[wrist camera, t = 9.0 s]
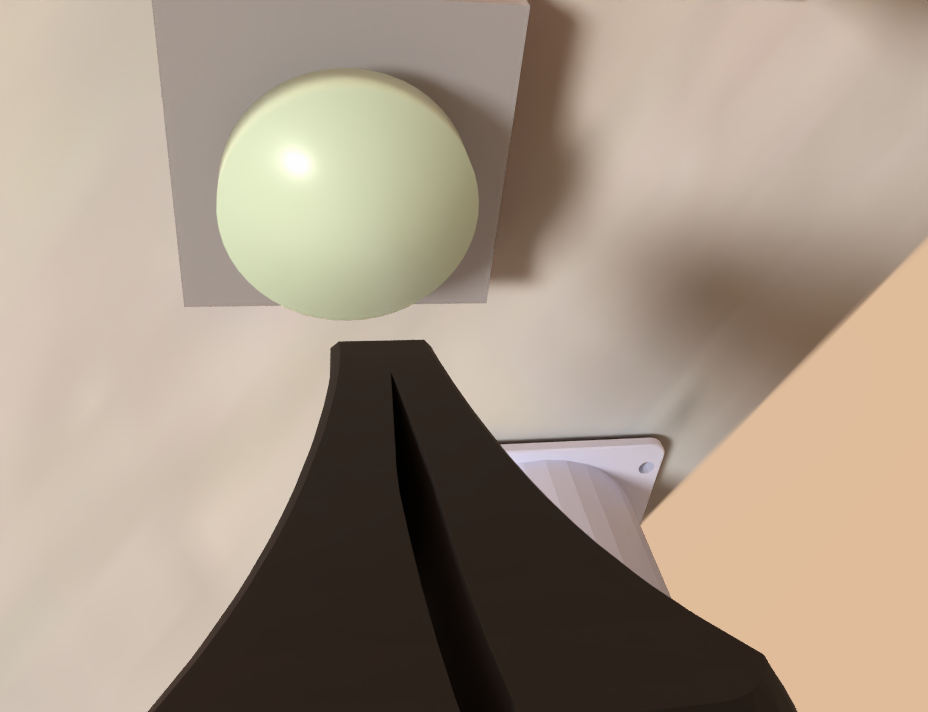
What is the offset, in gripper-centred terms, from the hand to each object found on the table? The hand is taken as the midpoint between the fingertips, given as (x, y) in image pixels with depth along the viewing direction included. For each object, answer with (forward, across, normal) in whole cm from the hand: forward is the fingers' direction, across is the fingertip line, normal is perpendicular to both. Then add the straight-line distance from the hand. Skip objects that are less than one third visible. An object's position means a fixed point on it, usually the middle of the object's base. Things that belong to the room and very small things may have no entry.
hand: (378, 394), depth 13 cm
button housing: (+9, 0, 0) cm, 9 cm away
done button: (+8, 0, 0) cm, 8 cm away
